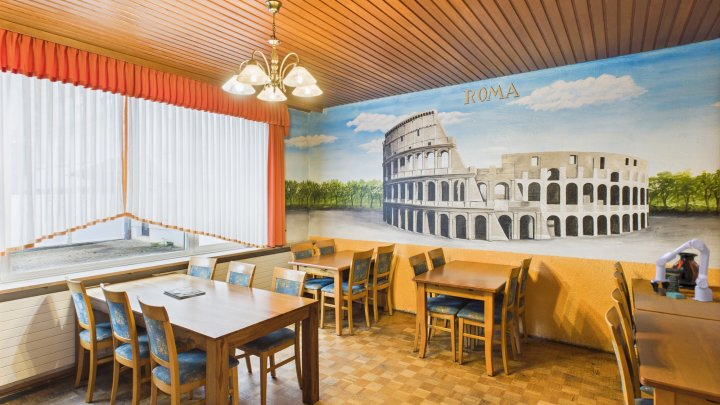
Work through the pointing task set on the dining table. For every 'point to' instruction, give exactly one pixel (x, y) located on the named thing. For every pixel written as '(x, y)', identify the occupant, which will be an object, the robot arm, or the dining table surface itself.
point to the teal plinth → (675, 295)
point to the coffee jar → (672, 279)
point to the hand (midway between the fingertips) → (659, 291)
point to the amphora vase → (687, 270)
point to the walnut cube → (661, 292)
